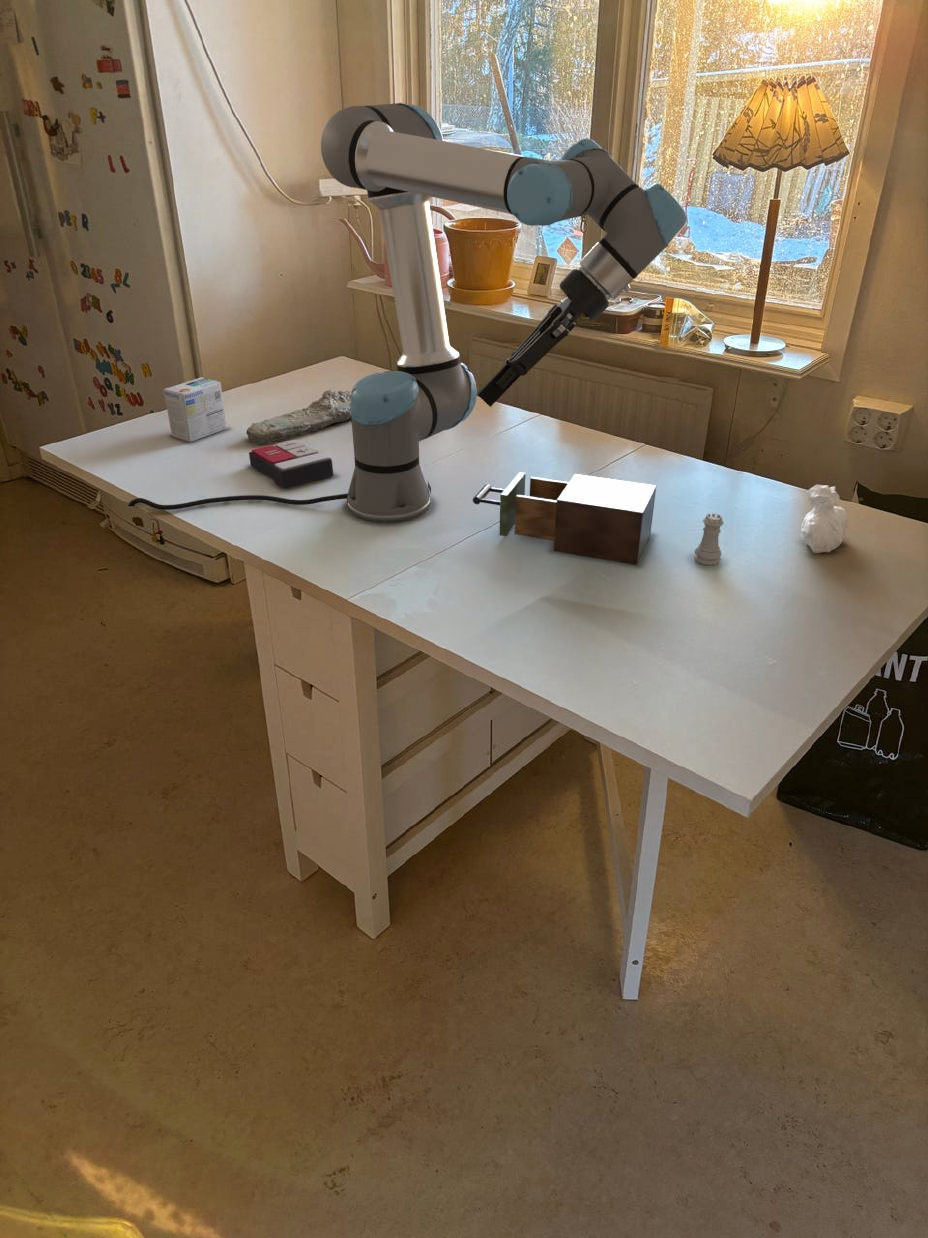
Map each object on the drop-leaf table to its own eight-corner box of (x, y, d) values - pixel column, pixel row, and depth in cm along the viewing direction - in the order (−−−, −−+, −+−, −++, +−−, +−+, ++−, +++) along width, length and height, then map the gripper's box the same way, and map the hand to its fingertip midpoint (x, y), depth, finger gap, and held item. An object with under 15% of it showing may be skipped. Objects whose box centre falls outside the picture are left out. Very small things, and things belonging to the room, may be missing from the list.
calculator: (296, 437, 187) (332, 455, 177) (298, 457, 189) (334, 476, 179) (247, 448, 182) (281, 467, 171) (250, 469, 184) (284, 489, 173)
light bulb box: (208, 423, 205) (201, 375, 200) (228, 429, 202) (221, 381, 196) (170, 436, 198) (161, 387, 192) (190, 443, 194) (182, 393, 189)
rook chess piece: (690, 563, 148) (697, 519, 144) (695, 552, 152) (702, 508, 148) (718, 568, 147) (726, 524, 143) (722, 556, 150) (730, 513, 146)
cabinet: (553, 551, 152) (556, 499, 147) (571, 523, 161) (574, 473, 156) (637, 565, 148) (643, 512, 143) (650, 535, 157) (656, 485, 152)
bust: (832, 543, 159) (806, 485, 159) (871, 531, 153) (844, 470, 153) (797, 566, 152) (770, 505, 152) (837, 553, 146) (809, 490, 146)
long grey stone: (237, 443, 198) (264, 457, 192) (233, 420, 195) (261, 434, 189) (358, 398, 218) (386, 410, 213) (357, 377, 215) (385, 388, 210)
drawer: (468, 530, 157) (468, 489, 153) (487, 506, 165) (488, 467, 161) (573, 547, 151) (576, 506, 147) (588, 522, 159) (591, 482, 155)
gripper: (617, 308, 129) (501, 426, 137) (606, 296, 141) (500, 406, 149) (581, 269, 127) (465, 392, 135) (573, 261, 139) (467, 374, 147)
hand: (484, 399), depth 142 cm, fingers closed
